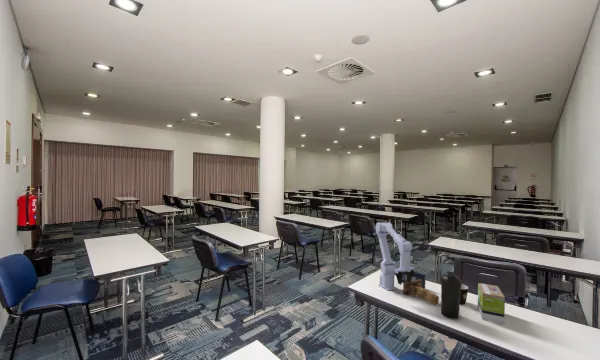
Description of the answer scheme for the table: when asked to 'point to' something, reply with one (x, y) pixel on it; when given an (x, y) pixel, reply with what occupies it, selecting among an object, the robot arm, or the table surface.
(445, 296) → the water bottle
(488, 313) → the tea box
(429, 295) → the rail
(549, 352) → the table surface
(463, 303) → the coffee mug
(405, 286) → the headboard
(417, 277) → the vhs cassette tape
